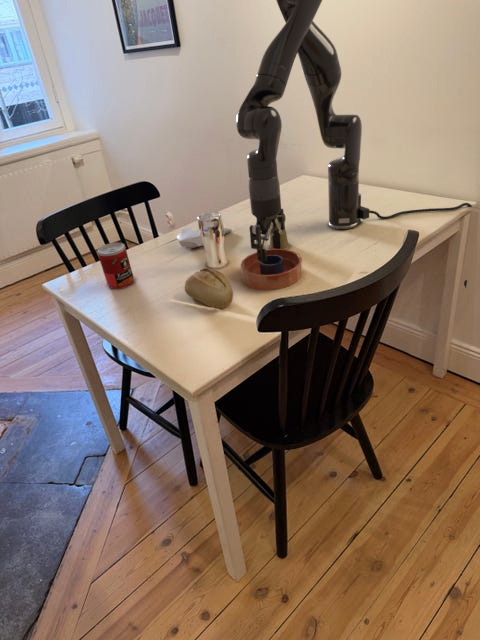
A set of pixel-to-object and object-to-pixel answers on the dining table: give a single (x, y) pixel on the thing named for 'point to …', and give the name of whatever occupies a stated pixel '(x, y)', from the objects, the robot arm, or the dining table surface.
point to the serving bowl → (275, 281)
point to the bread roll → (210, 288)
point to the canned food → (115, 265)
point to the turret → (192, 237)
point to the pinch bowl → (272, 265)
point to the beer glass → (212, 238)
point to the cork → (283, 238)
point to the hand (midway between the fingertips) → (270, 254)
